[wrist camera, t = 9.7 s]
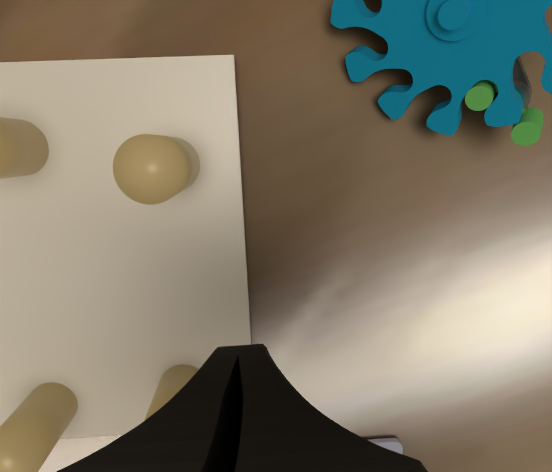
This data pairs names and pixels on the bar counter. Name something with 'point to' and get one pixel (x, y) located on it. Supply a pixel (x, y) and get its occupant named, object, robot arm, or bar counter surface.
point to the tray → (114, 242)
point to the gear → (456, 57)
